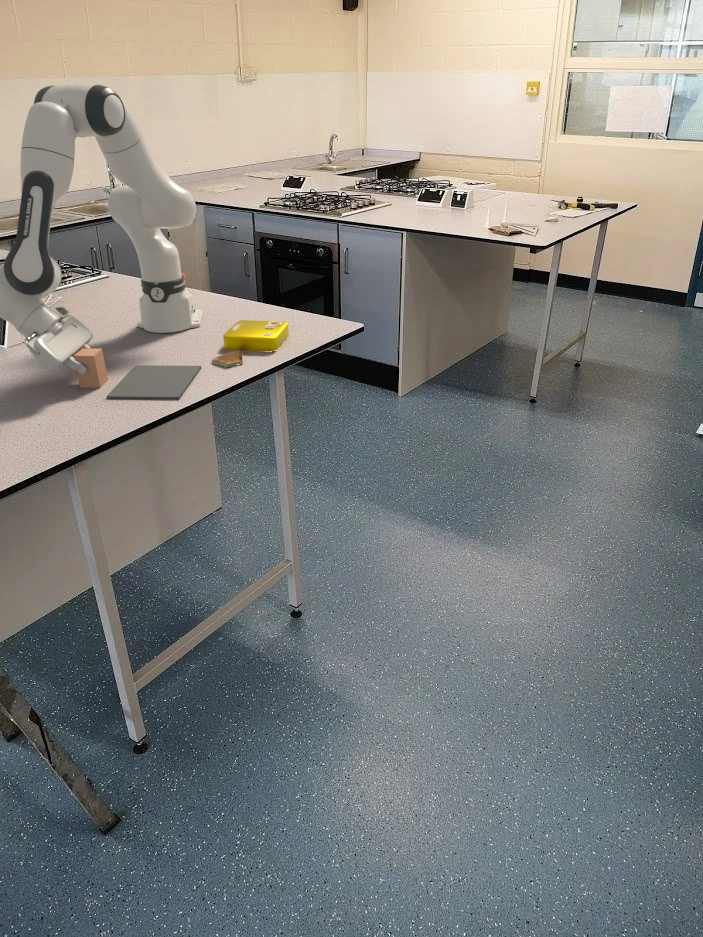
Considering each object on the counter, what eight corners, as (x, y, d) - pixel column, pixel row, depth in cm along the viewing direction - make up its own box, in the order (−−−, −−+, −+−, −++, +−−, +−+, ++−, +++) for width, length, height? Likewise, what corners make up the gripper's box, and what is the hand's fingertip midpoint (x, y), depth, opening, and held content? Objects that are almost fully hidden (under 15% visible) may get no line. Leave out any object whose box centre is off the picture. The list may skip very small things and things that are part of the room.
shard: (242, 353, 193) (242, 346, 192) (262, 359, 188) (261, 352, 188) (210, 364, 186) (210, 357, 185) (230, 371, 181) (229, 364, 181)
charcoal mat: (135, 367, 183) (135, 365, 183) (201, 368, 182) (201, 365, 182) (106, 398, 166) (106, 396, 166) (179, 399, 165) (179, 397, 164)
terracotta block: (88, 379, 177) (81, 348, 173) (108, 379, 176) (102, 348, 172) (80, 387, 172) (73, 355, 168) (100, 387, 172) (94, 355, 168)
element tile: (239, 334, 207) (238, 317, 205) (290, 336, 204) (289, 319, 202) (222, 351, 194) (220, 334, 192) (276, 354, 191) (275, 336, 189)
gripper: (28, 331, 158) (81, 373, 162) (67, 304, 176) (113, 343, 180) (14, 350, 160) (66, 392, 164) (53, 322, 178) (99, 360, 182)
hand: (91, 366), depth 172 cm, fingers closed on terracotta block, 5 cm apart
